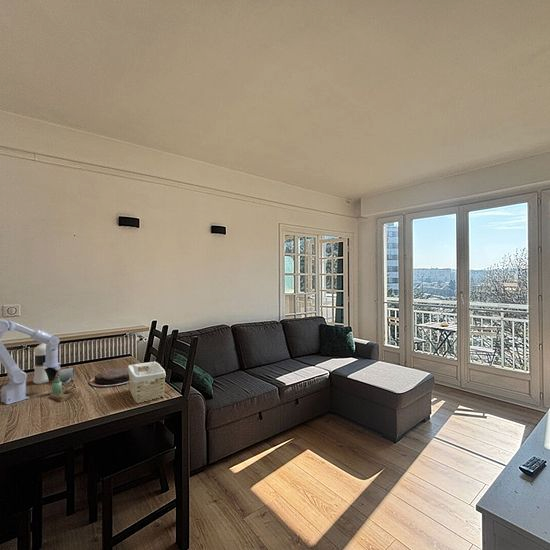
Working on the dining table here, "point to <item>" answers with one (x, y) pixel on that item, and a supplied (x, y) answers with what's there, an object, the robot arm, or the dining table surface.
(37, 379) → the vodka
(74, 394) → the cradle
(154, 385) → the storage basket
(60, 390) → the bottle
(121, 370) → the chocolate cake
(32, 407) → the dining table surface
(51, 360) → the robot arm
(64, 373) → the ceramic mug
